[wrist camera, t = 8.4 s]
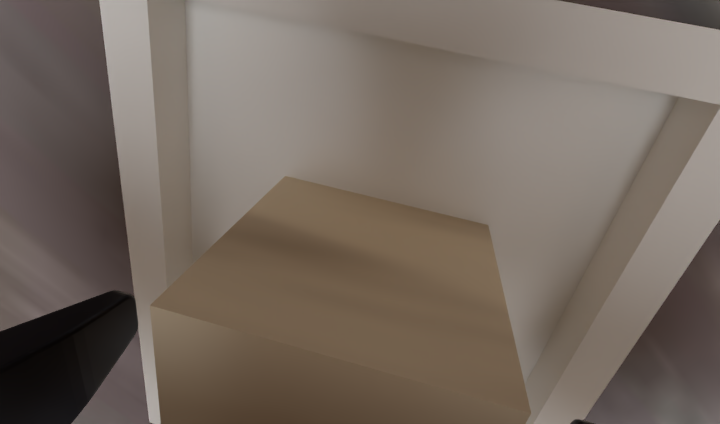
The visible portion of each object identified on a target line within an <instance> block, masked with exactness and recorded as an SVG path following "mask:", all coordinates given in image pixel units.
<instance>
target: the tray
mask: <svg viewBox="0 0 720 424" xmlns="http://www.w3.org/2000/svg"><path fill="white" fill-rule="evenodd" d="M99 2H100V11H101V19H102V28H103V36H104V45H105V53H106V61H107V70H108V78H109V87H110V95H111V103H112V112H113V120H114V129H115V137H116V145H117V154H118V162H119V171H120V179H121V187H122V196H123V204H124V213H125V221H126V229H127V238H128V246H129V255H130V263H131V272H132V280H133V288H134V297H135V300H136V308H137V316H138V330H139V339H140V347H141V356H142V364H143V372H144V381H145V389H146V398H147V406H148V414H149V422H151V423H154V424H161V420H160V410H159V399H158V388H157V378H156V367H155V356H154V346H153V335H152V324H151V314H150V305H151V304H152V303H153V302H154V301H155V300H156V299H157V298H158V297H159V296H160V295H161V294H162V293H163V292H164V291H165V290H166V289H167V288H169V287H170V286H171V285H172V284H173V283H174V282H175V281H176V280H177V279H178V278H179V277H180V276H181V275H182V274H183V273H184V272H185V271H186V270H187V269H188V268H189V267H190V266H192V265H193V264H194V263H195V262H196V261H197V260H198V259H199V258H200V257H201V256H202V255H203V254H204V253H205V252H206V251H207V250H208V249H209V248H210V247H211V246H212V245H213V244H214V243H216V242H217V241H218V240H219V239H220V238H221V237H222V236H223V235H224V234H225V233H226V232H227V231H228V230H229V229H230V228H231V227H232V226H233V225H234V224H235V223H236V222H237V221H239V220H240V219H241V218H242V217H243V216H244V215H245V214H246V213H247V212H248V211H249V210H250V209H251V208H252V207H253V206H254V205H255V204H256V203H257V202H258V201H259V200H260V199H261V198H263V197H264V196H265V195H266V194H267V193H268V192H269V191H270V190H271V189H272V188H273V187H274V186H275V185H276V184H277V183H278V182H279V181H280V180H281V179H282V178H283V177H284V176H288V177H292V178H296V179H300V180H304V181H308V182H313V183H317V184H321V185H325V186H329V187H333V188H337V189H341V190H346V191H350V192H354V193H358V194H362V195H366V196H370V197H374V198H379V199H383V200H387V201H391V202H395V203H399V204H403V205H407V206H412V207H416V208H420V209H424V210H428V211H432V212H436V213H440V214H445V215H449V216H453V217H457V218H461V219H465V220H469V221H473V222H478V223H482V224H486V225H488V226H489V231H490V235H491V239H492V244H493V248H494V252H495V257H496V261H497V266H498V270H499V274H500V279H501V283H502V287H503V292H504V296H505V301H506V305H507V309H508V314H509V318H510V322H511V327H512V331H513V336H514V340H515V344H516V349H517V353H518V357H519V362H520V366H521V371H522V375H523V379H524V384H525V388H526V392H527V397H528V401H529V406H530V410H531V415H530V417H529V418H528V420H527V422H526V424H570V423H571V422H572V421H573V420H575V419H580V420H584V419H585V417H586V416H587V414H588V413H589V411H590V410H591V408H592V407H593V405H594V404H595V402H596V401H597V400H598V398H599V397H600V395H601V394H602V392H603V391H604V389H605V388H606V386H607V385H608V383H609V382H610V380H611V379H612V377H613V376H614V375H615V373H616V372H617V370H618V369H619V367H620V366H621V364H622V363H623V361H624V360H625V358H626V357H627V355H628V354H629V352H630V351H631V349H632V348H633V347H634V345H635V344H636V342H637V341H638V339H639V338H640V336H641V335H642V333H643V332H644V330H645V329H646V327H647V326H648V324H649V323H650V322H651V320H652V319H653V317H654V316H655V314H656V313H657V311H658V310H659V308H660V307H661V305H662V304H663V302H664V301H665V299H666V298H667V297H668V295H669V294H670V292H671V291H672V289H673V288H674V286H675V285H676V283H677V282H678V280H679V279H680V277H681V276H682V274H683V273H684V272H685V270H686V269H687V267H688V266H689V264H690V263H691V261H692V260H693V258H694V257H695V255H696V254H697V252H698V251H699V249H700V248H701V247H702V245H703V244H704V242H705V241H706V239H707V238H708V236H709V235H710V233H711V232H712V230H713V229H714V227H715V226H716V224H717V223H718V222H719V220H720V30H717V29H712V28H707V27H701V26H696V25H690V24H685V23H679V22H674V21H668V20H663V19H657V18H652V17H647V16H641V15H636V14H630V13H625V12H619V11H614V10H608V9H603V8H598V7H592V6H587V5H581V4H576V3H570V2H565V1H559V0H99Z"/></svg>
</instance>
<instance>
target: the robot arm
mask: <svg viewBox="0 0 720 424" xmlns="http://www.w3.org/2000/svg"><path fill="white" fill-rule="evenodd" d="M137 329H138V316H137V308H136V300H135V298H134V296H133V295H131V294H128V293H124V292H121V291H110V292H107V293H104V294H101V295H99V296H96V297H93V298H90V299H88V300H85V301H82V302H80V303H77V304H74V305H71V306H69V307H66V308H63V309H60V310H58V311H55V312H52V313H50V314H47V315H44V316H41V317H39V318H36V319H33V320H30V321H28V322H25V323H22V324H19V325H17V326H14V327H11V328H9V329H6V330H3V331H0V424H71V423H72V422H73V421H74V419H75V418H76V417H77V416H78V415H79V413H80V412H81V411H82V410H83V408H84V407H85V406H86V405H87V403H88V402H89V401H90V399H91V398H92V396H93V395H94V394H95V392H96V391H97V390H98V388H99V387H100V385H101V384H102V382H103V381H104V379H105V378H106V376H107V375H108V374H109V372H110V371H111V369H112V368H113V366H114V365H115V363H116V362H117V360H118V359H119V358H120V356H121V355H122V353H123V352H124V350H125V349H126V347H127V346H128V344H129V343H130V341H131V340H132V339H133V337H134V335H135V334H136V332H137ZM570 424H594V423H591V422H587V421H584V420H580V419H575V420H573V421H572V422H571V423H570Z"/></svg>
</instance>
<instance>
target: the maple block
mask: <svg viewBox="0 0 720 424" xmlns="http://www.w3.org/2000/svg"><path fill="white" fill-rule="evenodd" d="M150 314H151V324H152V335H153V346H154V356H155V367H156V378H157V388H158V399H159V410H160V420H161V424H526V422H527V420H528V418H529V417H530V415H531V410H530V406H529V401H528V397H527V392H526V388H525V384H524V379H523V375H522V371H521V366H520V362H519V357H518V353H517V349H516V344H515V340H514V336H513V331H512V327H511V322H510V318H509V314H508V309H507V305H506V301H505V296H504V292H503V287H502V283H501V279H500V274H499V270H498V266H497V261H496V257H495V252H494V248H493V244H492V239H491V235H490V231H489V226H488V225H486V224H482V223H478V222H473V221H469V220H465V219H461V218H457V217H453V216H449V215H445V214H440V213H436V212H432V211H428V210H424V209H420V208H416V207H412V206H407V205H403V204H399V203H395V202H391V201H387V200H383V199H379V198H374V197H370V196H366V195H362V194H358V193H354V192H350V191H346V190H341V189H337V188H333V187H329V186H325V185H321V184H317V183H313V182H308V181H304V180H300V179H296V178H292V177H288V176H284V177H283V178H282V179H281V180H280V181H279V182H278V183H277V184H276V185H275V186H274V187H273V188H272V189H271V190H270V191H269V192H268V193H267V194H266V195H265V196H264V197H263V198H261V199H260V200H259V201H258V202H257V203H256V204H255V205H254V206H253V207H252V208H251V209H250V210H249V211H248V212H247V213H246V214H245V215H244V216H243V217H242V218H241V219H240V220H239V221H237V222H236V223H235V224H234V225H233V226H232V227H231V228H230V229H229V230H228V231H227V232H226V233H225V234H224V235H223V236H222V237H221V238H220V239H219V240H218V241H217V242H216V243H214V244H213V245H212V246H211V247H210V248H209V249H208V250H207V251H206V252H205V253H204V254H203V255H202V256H201V257H200V258H199V259H198V260H197V261H196V262H195V263H194V264H193V265H192V266H190V267H189V268H188V269H187V270H186V271H185V272H184V273H183V274H182V275H181V276H180V277H179V278H178V279H177V280H176V281H175V282H174V283H173V284H172V285H171V286H170V287H169V288H167V289H166V290H165V291H164V292H163V293H162V294H161V295H160V296H159V297H158V298H157V299H156V300H155V301H154V302H153V303H152V304H151V305H150Z"/></svg>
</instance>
